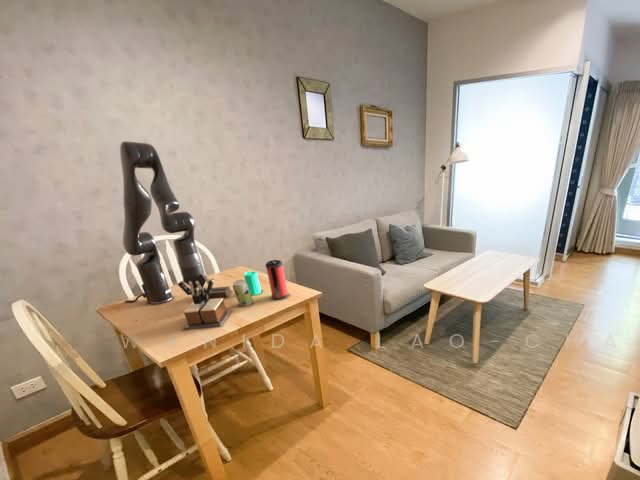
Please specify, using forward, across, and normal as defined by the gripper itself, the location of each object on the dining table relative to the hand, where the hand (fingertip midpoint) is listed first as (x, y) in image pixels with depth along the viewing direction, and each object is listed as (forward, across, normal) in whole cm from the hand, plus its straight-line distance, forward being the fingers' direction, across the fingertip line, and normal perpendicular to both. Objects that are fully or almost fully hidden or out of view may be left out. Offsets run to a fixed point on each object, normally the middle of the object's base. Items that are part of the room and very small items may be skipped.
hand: (202, 302), depth 139 cm
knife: (+7, 0, 0) cm, 7 cm away
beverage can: (+9, -12, -13) cm, 20 cm away
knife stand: (+9, +5, -27) cm, 29 cm away
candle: (+9, -13, -27) cm, 32 cm away
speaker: (+9, -27, -20) cm, 35 cm away
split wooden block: (+8, 0, 0) cm, 8 cm away
